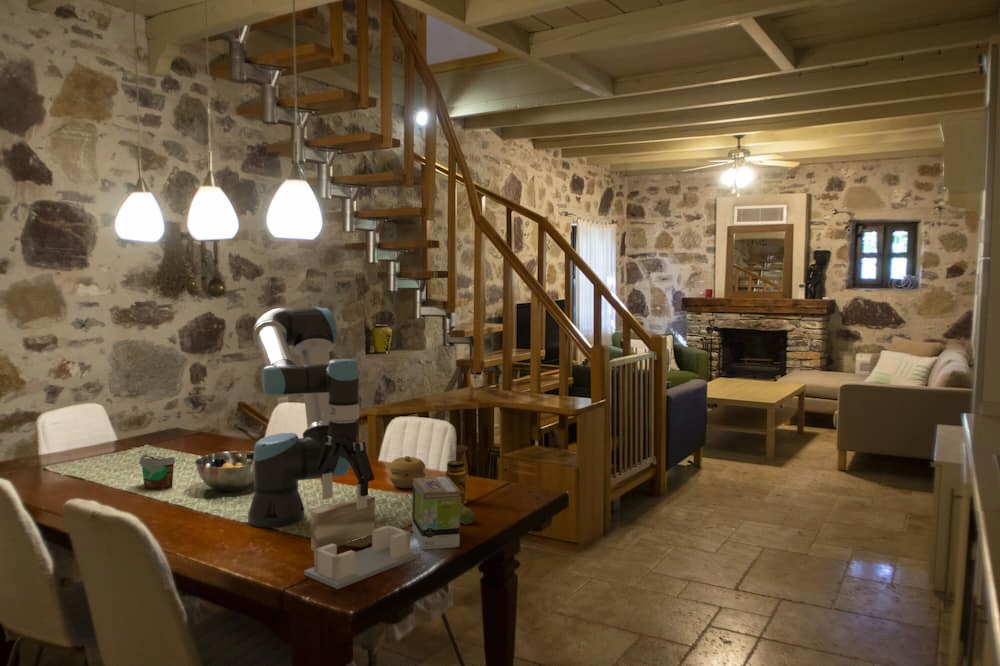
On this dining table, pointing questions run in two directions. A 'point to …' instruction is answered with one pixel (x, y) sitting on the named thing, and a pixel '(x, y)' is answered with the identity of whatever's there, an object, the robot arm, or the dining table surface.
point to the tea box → (436, 512)
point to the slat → (341, 523)
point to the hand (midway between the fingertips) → (344, 503)
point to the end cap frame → (362, 558)
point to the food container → (157, 472)
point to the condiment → (457, 476)
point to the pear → (466, 515)
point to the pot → (406, 471)
